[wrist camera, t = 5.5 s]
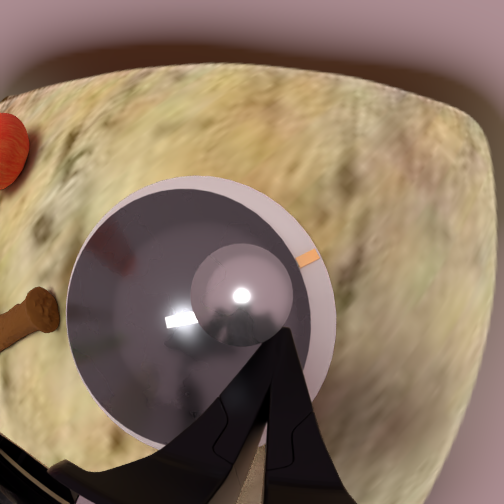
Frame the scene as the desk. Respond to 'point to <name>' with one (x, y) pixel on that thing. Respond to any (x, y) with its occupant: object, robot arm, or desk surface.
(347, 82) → the desk surface
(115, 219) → the dial
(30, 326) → the primitive tool
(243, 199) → the dial base
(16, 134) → the apple
